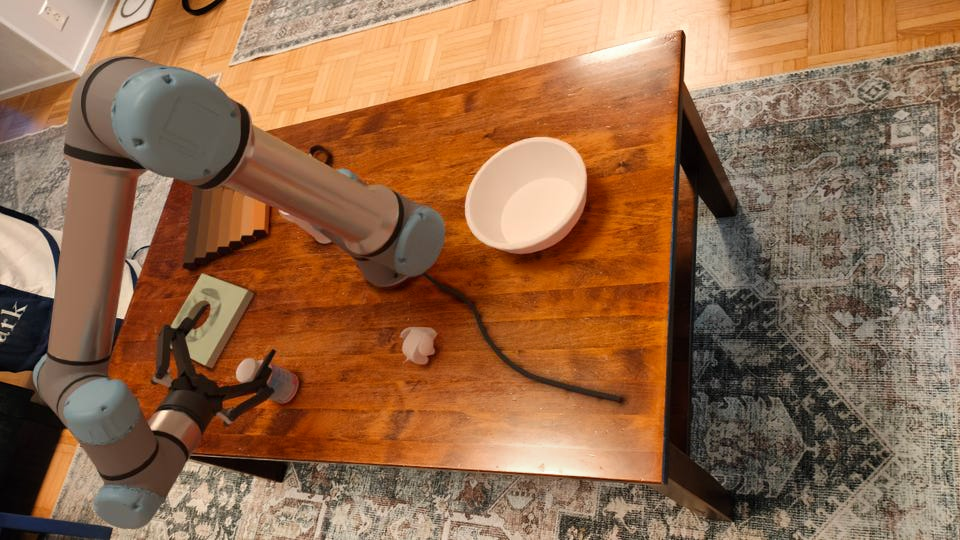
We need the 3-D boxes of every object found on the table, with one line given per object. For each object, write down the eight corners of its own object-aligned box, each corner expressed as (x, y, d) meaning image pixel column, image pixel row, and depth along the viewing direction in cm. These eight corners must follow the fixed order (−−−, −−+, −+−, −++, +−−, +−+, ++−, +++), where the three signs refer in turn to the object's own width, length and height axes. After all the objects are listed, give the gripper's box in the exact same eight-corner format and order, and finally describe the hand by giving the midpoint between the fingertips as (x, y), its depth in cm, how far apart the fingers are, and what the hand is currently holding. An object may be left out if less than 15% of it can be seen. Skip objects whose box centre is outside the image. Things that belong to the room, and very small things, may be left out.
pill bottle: (305, 380, 126) (264, 361, 117) (287, 409, 125) (245, 391, 116) (286, 368, 130) (245, 349, 121) (269, 396, 128) (227, 378, 120)
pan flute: (199, 192, 172) (189, 271, 159) (189, 185, 170) (178, 265, 156) (274, 154, 165) (270, 233, 151) (264, 146, 162) (260, 226, 149)
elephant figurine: (453, 342, 115) (436, 329, 110) (426, 379, 114) (408, 368, 109) (429, 324, 119) (411, 311, 114) (402, 361, 118) (384, 349, 113)
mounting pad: (254, 293, 144) (248, 290, 143) (212, 368, 140) (205, 365, 138) (208, 276, 155) (201, 273, 153) (167, 346, 150) (160, 343, 148)
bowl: (512, 158, 128) (494, 131, 121) (619, 169, 115) (605, 141, 108) (466, 259, 122) (444, 237, 115) (574, 283, 109) (556, 260, 102)
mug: (299, 245, 145) (261, 218, 135) (310, 212, 148) (274, 183, 139) (341, 242, 139) (303, 214, 130) (351, 208, 142) (316, 177, 133)
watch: (311, 157, 157) (301, 148, 154) (326, 145, 157) (317, 136, 154) (320, 176, 153) (310, 167, 150) (335, 163, 152) (326, 154, 149)
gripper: (88, 394, 94) (163, 304, 112) (240, 478, 101) (287, 382, 119) (107, 366, 90) (181, 278, 108) (263, 455, 98) (308, 360, 115)
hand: (237, 332), depth 113 cm, fingers open, 13 cm apart
